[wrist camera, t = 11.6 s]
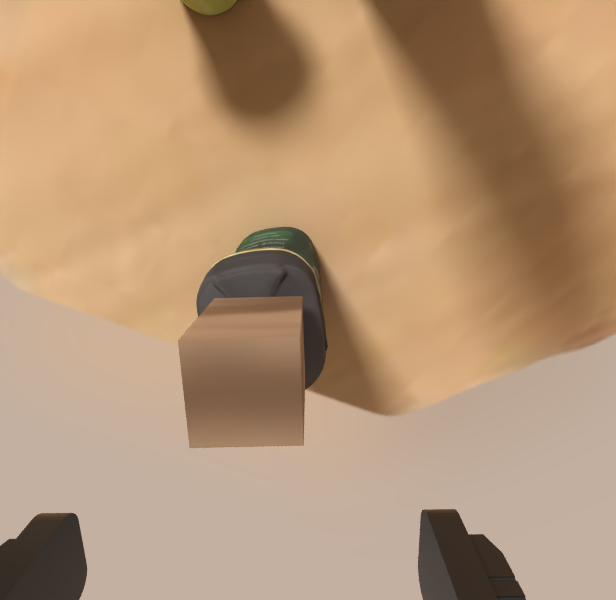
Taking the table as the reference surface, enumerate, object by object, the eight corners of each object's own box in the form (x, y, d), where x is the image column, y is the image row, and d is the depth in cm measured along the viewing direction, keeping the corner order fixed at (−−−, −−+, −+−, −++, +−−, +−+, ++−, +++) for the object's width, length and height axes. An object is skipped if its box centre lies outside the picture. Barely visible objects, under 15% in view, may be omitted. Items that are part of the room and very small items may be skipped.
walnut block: (214, 298, 24) (177, 340, 18) (302, 296, 24) (299, 337, 18) (221, 379, 26) (189, 447, 19) (304, 377, 26) (303, 445, 19)
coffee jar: (231, 233, 42) (173, 266, 24) (311, 221, 42) (314, 245, 24) (249, 327, 44) (209, 421, 26) (326, 316, 44) (338, 403, 26)
